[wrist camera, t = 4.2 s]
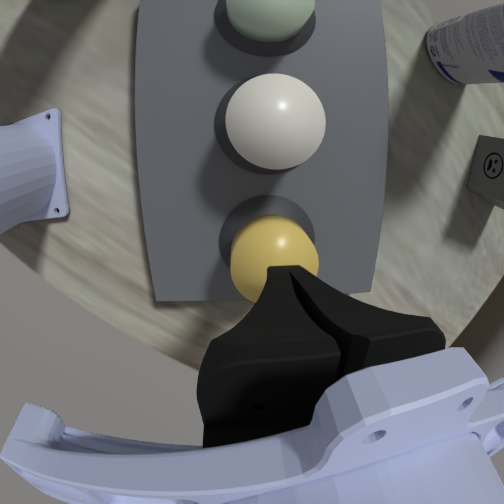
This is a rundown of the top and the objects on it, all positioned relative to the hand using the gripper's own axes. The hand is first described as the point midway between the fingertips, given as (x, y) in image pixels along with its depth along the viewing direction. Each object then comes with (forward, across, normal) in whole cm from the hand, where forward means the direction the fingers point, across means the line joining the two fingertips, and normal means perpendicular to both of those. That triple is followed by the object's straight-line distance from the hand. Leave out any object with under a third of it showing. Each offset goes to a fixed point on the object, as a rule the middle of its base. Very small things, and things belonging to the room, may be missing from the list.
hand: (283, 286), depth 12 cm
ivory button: (+4, 0, -7) cm, 8 cm away
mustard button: (+4, 0, 0) cm, 4 cm away
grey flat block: (+8, 0, -7) cm, 10 cm away
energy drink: (+8, -15, -15) cm, 23 cm away
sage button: (+5, 0, -14) cm, 15 cm away
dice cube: (+8, -20, -5) cm, 23 cm away
